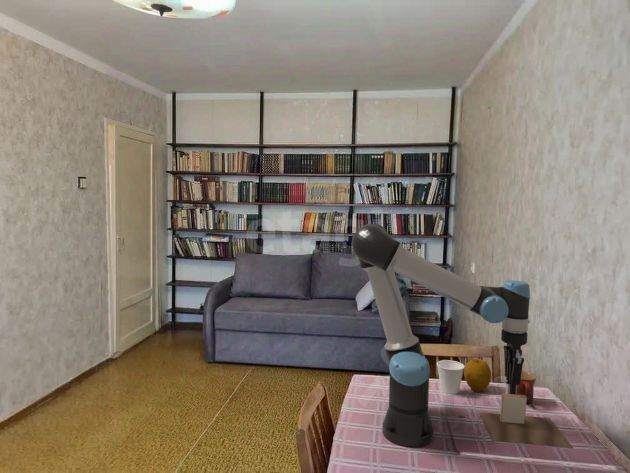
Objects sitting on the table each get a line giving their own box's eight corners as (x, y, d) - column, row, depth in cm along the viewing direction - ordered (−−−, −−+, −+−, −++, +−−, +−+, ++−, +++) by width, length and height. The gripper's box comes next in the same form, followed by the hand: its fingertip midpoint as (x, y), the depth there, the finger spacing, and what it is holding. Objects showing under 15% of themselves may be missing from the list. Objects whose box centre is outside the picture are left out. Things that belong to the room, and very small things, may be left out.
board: (492, 444, 127) (492, 440, 127) (478, 415, 145) (478, 412, 145) (573, 452, 124) (573, 448, 124) (549, 421, 142) (549, 418, 142)
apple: (471, 382, 173) (472, 353, 172) (495, 390, 166) (496, 359, 165) (458, 388, 166) (459, 358, 166) (483, 397, 159) (484, 365, 158)
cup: (431, 388, 166) (432, 360, 165) (456, 387, 167) (457, 359, 166) (441, 400, 156) (443, 370, 156) (468, 399, 157) (469, 369, 157)
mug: (505, 396, 160) (506, 369, 159) (531, 399, 158) (532, 371, 158) (513, 411, 148) (514, 382, 148) (541, 414, 147) (542, 384, 146)
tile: (501, 422, 138) (503, 396, 137) (499, 419, 140) (501, 393, 138) (524, 424, 137) (527, 398, 135) (522, 420, 139) (525, 395, 137)
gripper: (534, 336, 131) (530, 413, 133) (520, 325, 144) (516, 394, 146) (508, 335, 132) (504, 411, 134) (496, 323, 145) (493, 393, 147)
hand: (510, 402), depth 140 cm, fingers closed
